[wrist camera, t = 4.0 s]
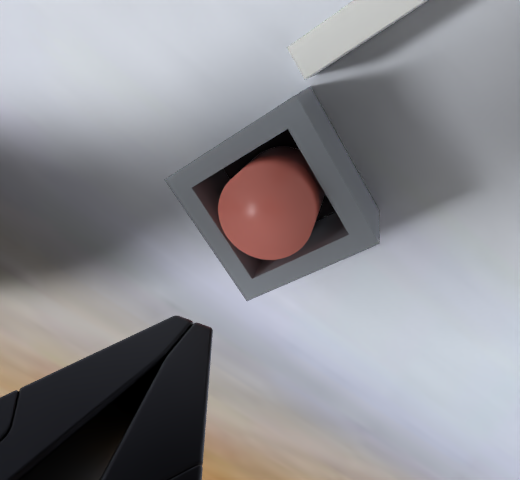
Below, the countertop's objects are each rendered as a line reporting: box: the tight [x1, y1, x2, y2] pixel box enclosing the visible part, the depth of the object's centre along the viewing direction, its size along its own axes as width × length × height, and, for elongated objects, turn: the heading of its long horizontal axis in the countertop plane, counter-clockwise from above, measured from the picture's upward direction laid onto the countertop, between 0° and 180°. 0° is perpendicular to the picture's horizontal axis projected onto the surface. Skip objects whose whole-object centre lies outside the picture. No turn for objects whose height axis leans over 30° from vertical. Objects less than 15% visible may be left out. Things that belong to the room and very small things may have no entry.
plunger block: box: [165, 86, 380, 301], centre depth 17 cm, size 6×6×4 cm
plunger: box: [218, 146, 325, 260], centre depth 17 cm, size 4×4×4 cm
